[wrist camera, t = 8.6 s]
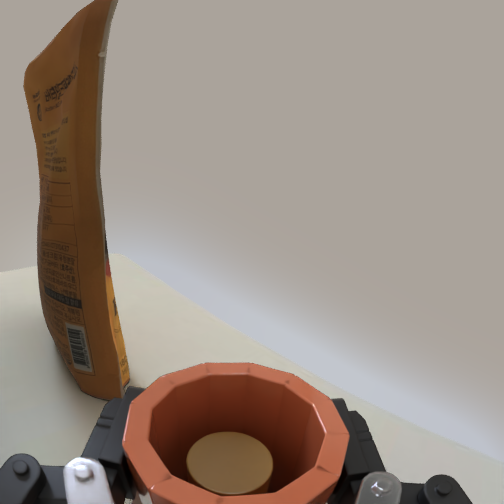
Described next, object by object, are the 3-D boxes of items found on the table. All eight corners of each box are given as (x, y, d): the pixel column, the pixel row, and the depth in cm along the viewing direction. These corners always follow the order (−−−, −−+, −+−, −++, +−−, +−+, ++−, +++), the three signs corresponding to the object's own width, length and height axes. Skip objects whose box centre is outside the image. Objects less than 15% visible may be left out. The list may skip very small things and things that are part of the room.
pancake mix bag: (82, 433, 17) (69, -26, 9) (30, 319, 30) (25, 63, 22) (160, 403, 22) (173, -5, 14) (81, 308, 34) (82, 65, 27)
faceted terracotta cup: (307, 512, 12) (359, 388, 9) (266, 605, 6) (317, 551, 4) (199, 477, 14) (195, 344, 11) (139, 554, 9) (78, 444, 6)
